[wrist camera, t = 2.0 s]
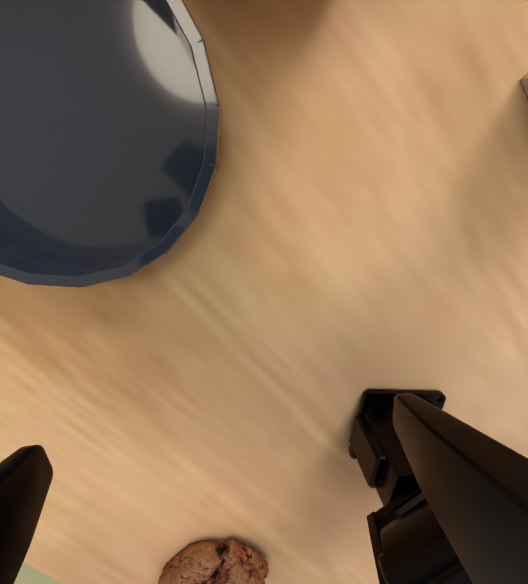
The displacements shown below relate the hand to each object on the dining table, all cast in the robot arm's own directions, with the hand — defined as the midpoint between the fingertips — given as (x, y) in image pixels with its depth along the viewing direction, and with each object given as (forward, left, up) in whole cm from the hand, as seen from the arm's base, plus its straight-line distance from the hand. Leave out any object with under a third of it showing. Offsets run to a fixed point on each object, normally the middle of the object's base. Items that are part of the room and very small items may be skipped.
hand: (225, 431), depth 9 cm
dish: (+9, -7, -13) cm, 17 cm away
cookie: (-1, +30, -13) cm, 33 cm away
